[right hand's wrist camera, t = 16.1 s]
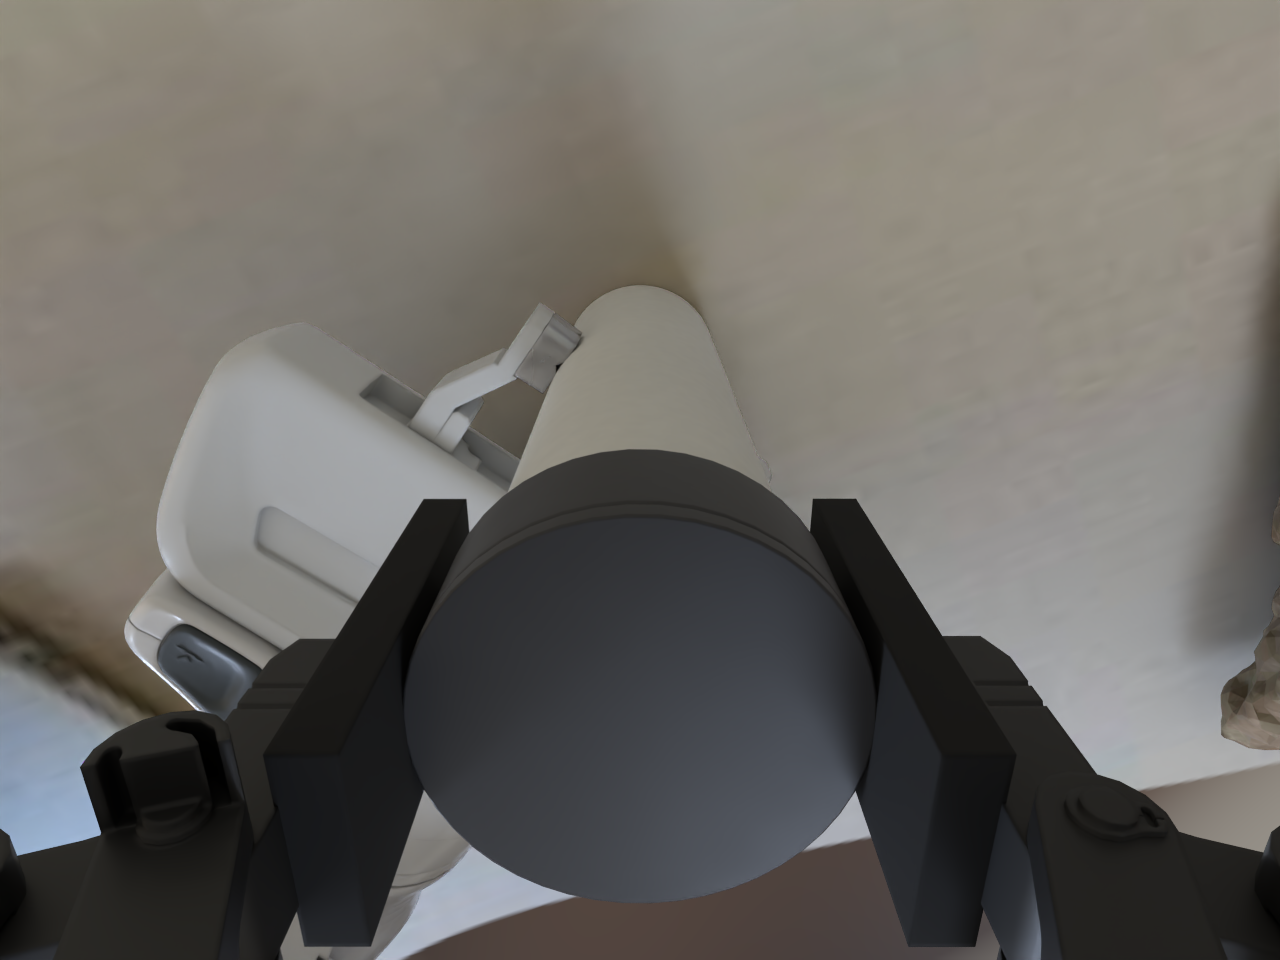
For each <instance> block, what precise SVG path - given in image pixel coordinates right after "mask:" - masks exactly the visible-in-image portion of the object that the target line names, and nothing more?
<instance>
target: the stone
mask: <svg viewBox="0 0 1280 960" xmlns="http://www.w3.org/2000/svg"><path fill="white" fill-rule="evenodd" d="M1271 537H1272V539H1273V541H1274V542H1275V543H1276V544H1278V545H1280V497H1279V502H1278V505H1277V507H1276V509H1275V510H1274V513H1273V522H1272V535H1271ZM1272 611H1273V614H1274V617H1273V619H1272V621H1271V623H1270V625H1269V626H1268V627H1267V628H1266V629H1265V630H1264V632H1263V638H1262V639H1261V641H1260V643H1259V644H1258V646H1257V648H1256V649H1255V651H1254V654H1255V660H1256V661H1255V662H1254V663H1253V664H1252V665H1251V666H1249V667H1247V668H1246V669H1244V670H1242V671H1241V672H1240V673H1239V674H1238V675H1236V676H1235V677H1233V678H1232V679H1230V680H1229V681H1228V682H1227V683H1226V684H1225V686H1224V687H1223V690H1222V693H1221V709H1222V719H1221V735H1222V736H1223V737H1224V738H1227V739H1230V740H1233V741H1235V742H1237V743H1239V744H1242V745H1244V746H1246V747H1248V748H1254V749H1261V750H1280V586H1279V588H1278V589H1277V591H1276V593H1275V595H1274V598H1273V601H1272Z"/></svg>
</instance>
